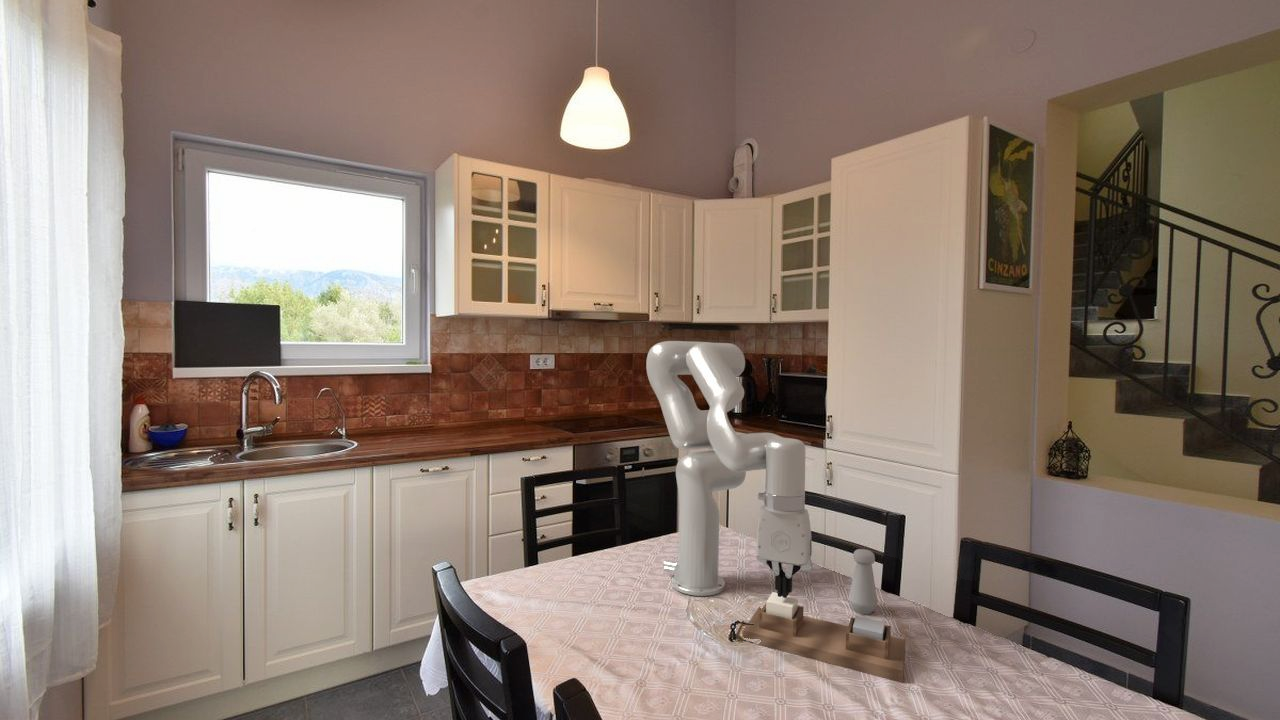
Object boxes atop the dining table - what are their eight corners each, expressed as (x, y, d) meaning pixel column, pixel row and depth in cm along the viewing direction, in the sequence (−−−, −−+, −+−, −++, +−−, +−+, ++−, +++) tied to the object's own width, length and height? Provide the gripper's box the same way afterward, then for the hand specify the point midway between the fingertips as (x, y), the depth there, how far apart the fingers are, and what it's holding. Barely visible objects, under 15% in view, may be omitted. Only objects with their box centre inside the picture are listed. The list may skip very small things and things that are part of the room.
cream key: (765, 613, 111) (766, 601, 111) (772, 603, 115) (772, 592, 115) (791, 619, 108) (792, 607, 108) (797, 609, 113) (797, 597, 113)
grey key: (852, 639, 103) (852, 626, 103) (855, 628, 108) (856, 615, 108) (882, 646, 101) (882, 633, 101) (884, 634, 105) (884, 621, 105)
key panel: (742, 640, 109) (743, 614, 109) (759, 615, 120) (760, 591, 120) (902, 682, 96) (902, 653, 96) (905, 649, 107) (906, 623, 107)
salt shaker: (879, 618, 120) (881, 556, 119) (850, 614, 121) (852, 554, 121) (873, 605, 125) (875, 547, 125) (846, 603, 127) (848, 545, 126)
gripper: (742, 501, 111) (740, 594, 112) (820, 511, 104) (819, 610, 105) (753, 493, 118) (751, 580, 118) (827, 502, 111) (826, 595, 111)
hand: (783, 594), depth 111 cm, fingers closed
